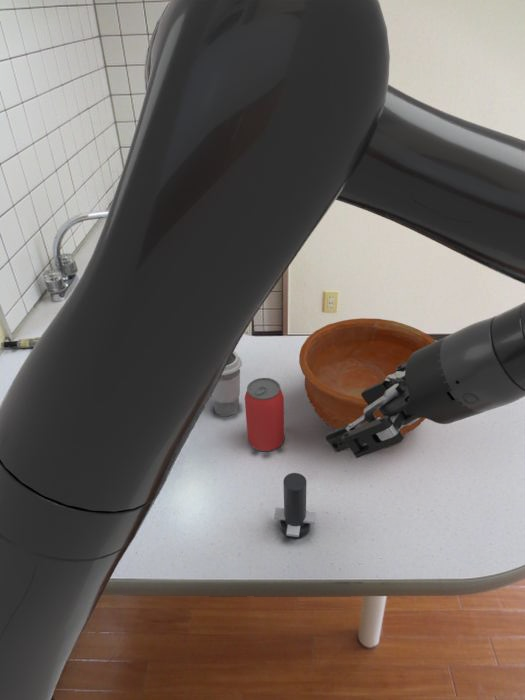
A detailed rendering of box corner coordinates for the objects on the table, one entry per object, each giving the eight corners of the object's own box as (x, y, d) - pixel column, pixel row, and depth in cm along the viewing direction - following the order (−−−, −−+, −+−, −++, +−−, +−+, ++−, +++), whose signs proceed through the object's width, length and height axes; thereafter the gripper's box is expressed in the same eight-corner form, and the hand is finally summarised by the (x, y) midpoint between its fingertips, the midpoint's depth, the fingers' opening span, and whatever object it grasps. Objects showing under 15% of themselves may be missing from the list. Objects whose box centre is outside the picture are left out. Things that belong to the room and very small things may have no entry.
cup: (202, 413, 101) (195, 363, 94) (219, 393, 105) (214, 344, 99) (234, 424, 98) (230, 372, 91) (251, 402, 103) (247, 352, 96)
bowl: (458, 411, 98) (473, 345, 90) (394, 495, 83) (405, 424, 74) (345, 365, 112) (349, 304, 103) (272, 430, 96) (269, 363, 88)
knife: (7, 340, 125) (0, 350, 121) (5, 334, 124) (-2, 344, 120) (131, 332, 128) (128, 341, 124) (130, 325, 127) (127, 335, 123)
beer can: (240, 443, 94) (235, 390, 87) (262, 422, 98) (260, 371, 91) (269, 458, 90) (267, 405, 83) (291, 436, 94) (291, 384, 88)
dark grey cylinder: (313, 546, 76) (314, 500, 70) (272, 541, 77) (270, 495, 71) (316, 512, 81) (318, 467, 75) (278, 508, 82) (276, 463, 76)
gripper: (471, 304, 52) (358, 362, 64) (416, 379, 42) (296, 431, 54) (515, 364, 52) (394, 411, 64) (471, 452, 43) (339, 487, 55)
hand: (349, 420), depth 59 cm, fingers open, 8 cm apart
